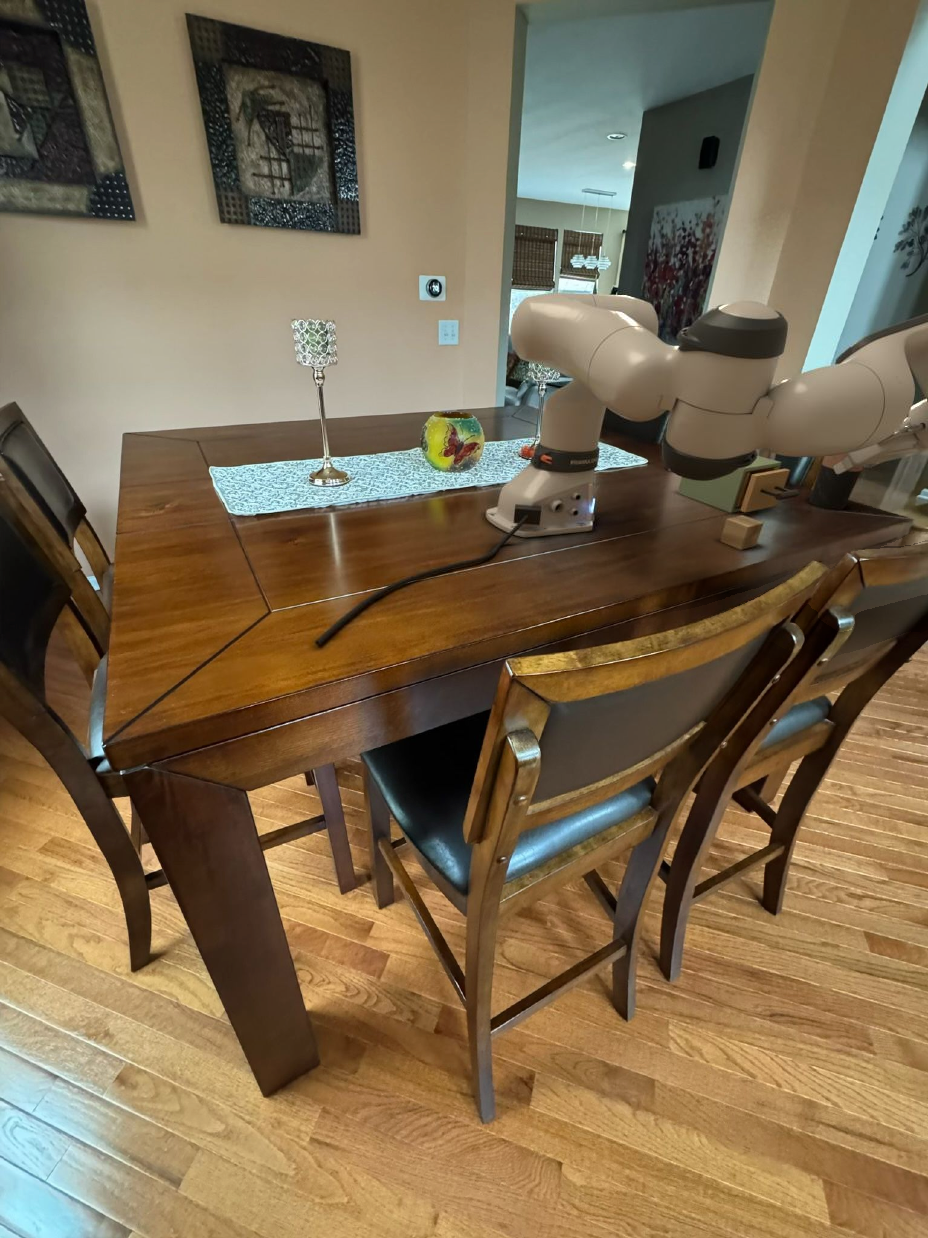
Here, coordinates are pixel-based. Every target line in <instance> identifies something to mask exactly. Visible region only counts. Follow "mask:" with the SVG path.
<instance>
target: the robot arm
mask: <svg viewBox="0 0 928 1238" xmlns="http://www.w3.org/2000/svg"><path fill="white" fill-rule="evenodd" d="M509 330H510V332H509V334H510V342H511V345H512V348H513V350H514V352H515V354H516V355H517V357H518V358H519V359H520V360H522V361H525V362H529V363H532V364H535V365H539V366H542V367H546V368H548V369H550V370H553V371H555V372H557V373H560V374H561V375H564V376H566V377H568V378H571V379H572V380H571V381H570V382H569V383H568V384H566V385H564V386H562V387H560V388H557V389H556V390H555V391H553V392H552V393H551V394H550V395H549V396H548V397H547V399H546V400H545V402H544V405H543V411H542V419H541V428H540V429H541V430H540V437H539V441H538V442H537V444H536V447H535V448H533V447H530V446H529V445H523V446H522V448H521V450H520V452H521V453H520V454H521V456H522V457H525V458H527V459H530V463H529V464H528V465H527V466H525V467H524V468H523V469H522V470H521V471H520V472H518V473H517V475H515V476H514V477H513V478H512V479H510V480H509V481H508V482H506V484H505V485H503V486H502V487H501V491H500V494H499V497H498V501H497V506H495V507H492V508H488V509H486V512H485V519H487V521H488V522H489V523H491V524H492V525H493V526H495V527H497V528H498V529H500V530H502V531H503V532H506V533H507V534H506V535H505V536H504V537H503V538H502V539H501V540H500V541H499V542H498V543H497V545H496V546H494V548H493V549H492V550H491V551H489V553H487V554H485V555H482V556H479V557H476V558H472V559H468V560H463V561H458V562H454V563H450V564H447V565H443V566H439V567H436V568H432V569H429V570H425V571H422V572H418V573H416V574H413V575H410V576H408V577H405V578H403V579H401V580H398V581H395V582H394V583H392V584H390V585H387V586H385V587H383V588H381V589H380V590H378V591H376V592H374V593H373V594H372V595H370V596H368V597H367V598H365V599H364V600H362V601H361V602H360V603H359V604H357V605H356V606H355V607H353V609H351V610H349V612H347V613H346V614H345V615H343V616H342V617H341V618H339V620H338V621H336V622H335V623H334V624H333V625H332V626H331V627H330V628H329V629H327V630H326V631H325V632H324V633H323V634H322V635H320V636H319V638H317V639H316V640H315V642H314V643H315V645H316V646H321V645H322V644H323V643H324V642H326V640H327V639H329V638H330V637H331V636H332V635H333V634H334V633H335V632H336V631H337V630H339V629H340V628H341V627H342V626H343V625H344V624H345V623H347V622H348V621H349V620H350V619H351V618H353V616H355V615H356V614H357V613H359V612H360V611H361V610H362V609H364V608H366V606H367V605H369V604H371V602H373V601H375V600H376V599H378V598H379V597H381V596H383V595H385V594H386V593H388V592H390V591H392V590H394V589H397V588H398V587H401V586H403V585H405V584H407V583H410V582H413V581H415V580H418V579H421V578H424V577H427V576H430V575H434V574H438V573H441V572H442V573H443V572H445V571H449V570H452V569H455V568H460V567H465V566H469V565H474V564H477V563H481V562H483V561H487V560H488V559H490V558H492V557H493V556H494V555H496V554H497V552H498V551H499V550H500V548H502V546H504V544H506V543H507V542H508V540H509V539H511V537H512V536H517V537H521V538H533V537H543V536H553V535H563V534H570V533H571V534H572V533H573V534H574V533H582V532H591V531H592V530H593V527H594V523H593V522H594V521H595V518H596V517H595V512H594V511H595V510H594V508H595V503H596V502H595V501H596V498H594V489H595V487H594V486H595V471H596V470H595V469H596V468H597V467H598V463H599V459H600V451H601V450H600V447H599V442H600V438H601V437H600V436H601V431H602V427H603V422H604V417H605V414H606V409H608V410H610V411H611V412H612V413H614V414H616V415H618V416H620V417H621V418H623V419H626V420H628V421H631V422H636V423H637V422H638V423H642V422H648V421H652V420H654V419H657V418H658V417H660V416H661V415H663V414H664V413H666V411H669V415H668V420H667V426H666V432H665V434H664V435H663V436H662V444H661V459H662V463H663V464H664V466H666V467H667V469H668V470H669V469H670V470H671V473H673V474H675V475H676V476H679V477H681V478H682V477H684V478H687V479H691V480H697V481H709V480H714V479H717V478H721V477H723V476H726V475H729V474H731V473H733V472H734V471H736V470H737V469H738V468H744V467H747V466H749V465H751V464H752V463H753V462H754V461H755V460H756V458H757V452H756V450H758V449H766V450H769V451H771V452H773V453H776V455H779V456H784V457H791V458H792V457H793V458H819V457H823V458H824V457H825V456H832V455H838V454H845V453H847V457H846V458H845V459H844V460H843V461H842V462H840V463H838V464H836V465H834V467H833V468H834V470H835V473H836V474H842V473H844V472H846V471H848V470H850V469H851V468H853V467H859V466H863V469H871V468H873V467H874V466H877V465H879V464H883V463H884V462H889V461H894V460H899V459H904V458H908V457H909V458H910V457H913V456H915V455H918V454H921V453H924V452H926V451H928V312H927V313H923V314H921V315H918V316H915V317H913V318H909V319H907V320H904V321H901V322H898V323H895V324H893V325H892V324H891V325H889V326H887V327H884V328H882V329H879V330H877V331H874V332H872V333H870V334H868V335H866V336H864V337H862V338H861V339H858V340H857V341H856V342H854V343H853V344H852V345H850V346H848V348H846V349H845V350H844V351H842V353H840V355H839V356H838V357H836V359H835V362H834V364H830V365H825V366H821V367H817V368H814V369H810V370H808V371H807V370H806V371H804V372H802V373H799V374H795V375H793V376H790V377H788V378H786V379H784V380H782V381H780V382H779V383H773V382H774V378H775V374H776V371H777V367H778V363H779V360H780V356H781V355H783V354H784V352H785V348H786V343H787V338H788V330H789V323H788V320H787V319H786V318H785V317H784V315H783V314H782V312H780V311H778V310H775V309H773V308H772V307H770V306H769V305H766V304H764V303H762V302H758V301H754V300H740V301H739V300H737V301H733V302H729V303H724V304H719V305H716V306H714V307H713V308H710V310H709V309H708V311H706V312H705V313H703V314H702V315H700V316H699V317H697V319H696V320H695V321H694V322H693V323H692V324H691V326H687V327H684V328H681V329H680V330H679V332H678V333H677V335H676V339H677V341H678V342H679V343H681V344H679V345H670V344H668V343H666V342H664V341H663V340H661V338H659V336H658V334H659V333H658V332H659V319H658V314H657V312H656V309H655V307H654V306H653V304H652V303H651V302H648V301H645V300H643V299H640V298H636V297H632V296H629V295H624V294H623V295H619V294H602V293H601V294H599V293H574V292H571V293H570V292H548V293H541V294H536V295H531V296H526V297H525V298H523V300H521V302H520V303H519V304H518V305H517V307H516V309H515V311H514V313H513V315H512V318H511V322H510V328H509ZM913 375H914V377H915V379H916V381H917V383H918V385H919V388H920V389H921V392H922V394H923V395H924V399H922V400H920V401H918V402H917V403H915V404H914V400H915V396H916V395H915V393H916V386H915V381H914V380H915V379H914V378H913Z"/></svg>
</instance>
